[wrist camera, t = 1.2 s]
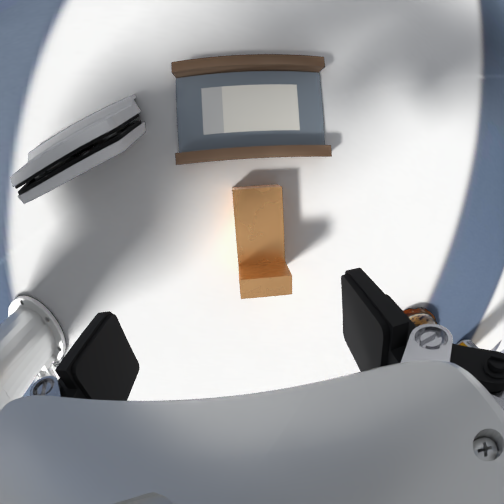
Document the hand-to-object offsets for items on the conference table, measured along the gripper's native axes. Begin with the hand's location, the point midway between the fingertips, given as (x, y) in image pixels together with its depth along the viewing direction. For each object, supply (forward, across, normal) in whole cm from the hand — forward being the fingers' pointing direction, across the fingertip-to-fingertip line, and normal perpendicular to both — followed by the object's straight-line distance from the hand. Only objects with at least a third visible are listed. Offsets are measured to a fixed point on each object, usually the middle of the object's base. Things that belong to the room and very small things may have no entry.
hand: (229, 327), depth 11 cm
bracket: (+22, -2, +2) cm, 22 cm away
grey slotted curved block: (+22, +16, -12) cm, 30 cm away
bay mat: (+22, -4, -11) cm, 25 cm away
